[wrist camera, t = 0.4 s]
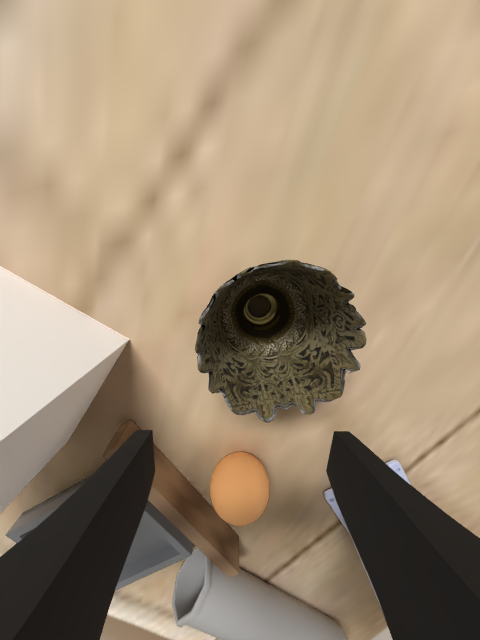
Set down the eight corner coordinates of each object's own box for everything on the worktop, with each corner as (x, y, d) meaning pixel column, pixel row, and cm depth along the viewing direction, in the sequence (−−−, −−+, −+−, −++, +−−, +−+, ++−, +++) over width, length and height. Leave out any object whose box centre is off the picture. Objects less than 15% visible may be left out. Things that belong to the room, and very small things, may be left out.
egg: (274, 465, 22) (286, 525, 17) (229, 487, 23) (229, 551, 18) (248, 430, 21) (253, 484, 16) (201, 454, 21) (193, 513, 17)
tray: (194, 533, 24) (192, 555, 23) (105, 575, 26) (96, 599, 24) (120, 460, 21) (111, 478, 19) (22, 513, 22) (5, 535, 21)
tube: (370, 666, 27) (211, 587, 21) (343, 710, 26) (171, 642, 20) (339, 608, 32) (204, 531, 26) (316, 644, 31) (171, 574, 25)
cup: (305, 248, 16) (372, 248, 9) (310, 343, 18) (367, 410, 11) (201, 263, 16) (176, 276, 9) (218, 357, 18) (211, 432, 11)
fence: (238, 535, 25) (239, 573, 22) (228, 540, 25) (228, 578, 22) (131, 419, 20) (115, 448, 17) (120, 426, 20) (102, 455, 17)
